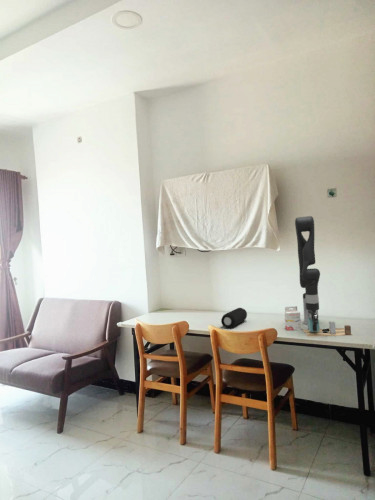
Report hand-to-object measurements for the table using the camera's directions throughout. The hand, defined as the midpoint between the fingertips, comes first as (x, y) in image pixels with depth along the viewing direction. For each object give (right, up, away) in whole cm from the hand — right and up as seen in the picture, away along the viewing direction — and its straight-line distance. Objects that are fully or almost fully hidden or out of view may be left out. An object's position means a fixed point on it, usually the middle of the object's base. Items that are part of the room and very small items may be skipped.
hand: (313, 329), depth 214 cm
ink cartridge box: (-9, -3, +11) cm, 14 cm away
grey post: (+9, -2, -5) cm, 11 cm away
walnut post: (+17, -2, -8) cm, 19 cm away
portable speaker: (-43, -5, +35) cm, 56 cm away
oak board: (+7, -2, -1) cm, 8 cm away
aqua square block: (0, -1, 0) cm, 1 cm away
